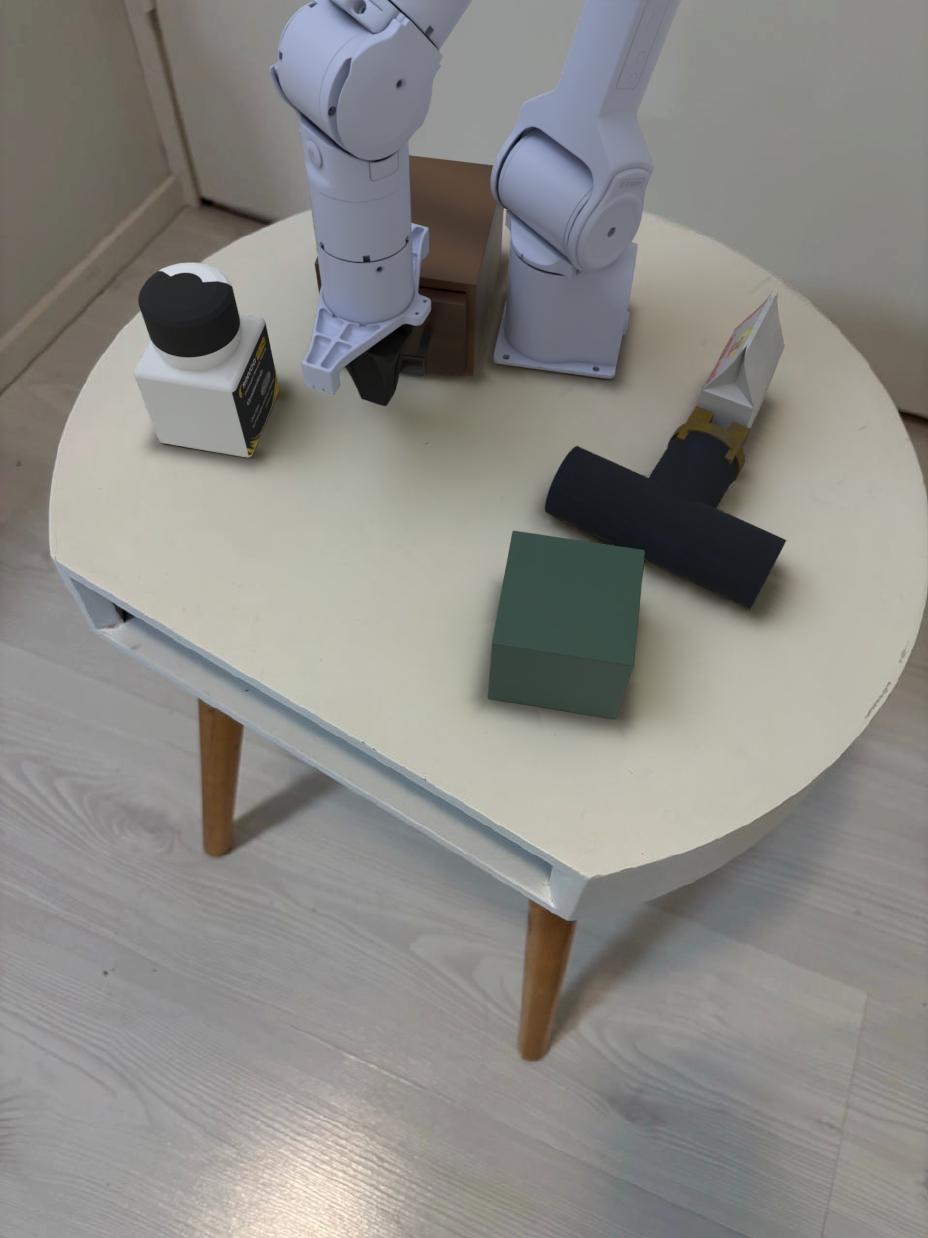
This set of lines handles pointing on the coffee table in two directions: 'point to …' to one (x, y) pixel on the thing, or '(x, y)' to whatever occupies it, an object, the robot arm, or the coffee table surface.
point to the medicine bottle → (204, 362)
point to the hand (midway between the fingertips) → (377, 396)
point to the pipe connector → (673, 509)
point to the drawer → (439, 336)
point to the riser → (566, 624)
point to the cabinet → (457, 236)
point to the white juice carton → (745, 368)
